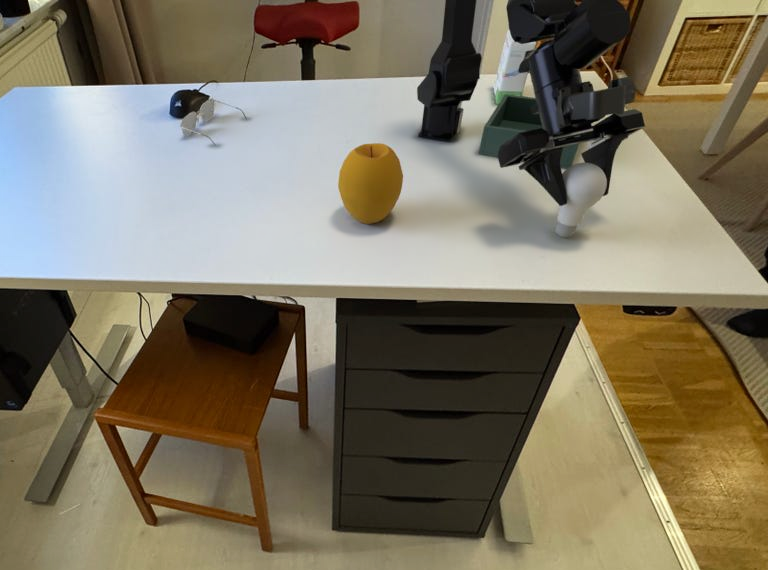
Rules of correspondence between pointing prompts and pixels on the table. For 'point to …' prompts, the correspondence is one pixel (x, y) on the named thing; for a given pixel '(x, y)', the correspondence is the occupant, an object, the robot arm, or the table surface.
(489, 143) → the bin
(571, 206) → the lightbulb
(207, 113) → the eyeglasses
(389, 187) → the apple
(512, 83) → the ink box
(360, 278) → the table surface
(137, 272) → the table surface
